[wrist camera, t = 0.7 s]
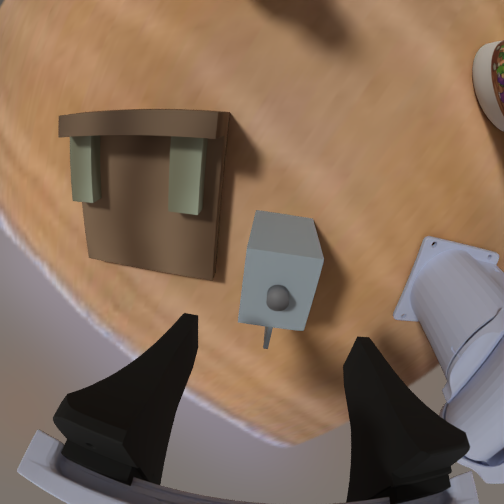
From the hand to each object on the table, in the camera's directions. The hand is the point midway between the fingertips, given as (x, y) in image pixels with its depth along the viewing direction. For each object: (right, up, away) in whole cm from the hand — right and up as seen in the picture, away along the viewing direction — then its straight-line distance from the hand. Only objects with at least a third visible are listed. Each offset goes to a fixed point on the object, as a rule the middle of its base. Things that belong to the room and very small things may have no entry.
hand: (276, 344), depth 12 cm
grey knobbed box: (+1, +3, +9) cm, 10 cm away
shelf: (-9, +9, +8) cm, 14 cm away
